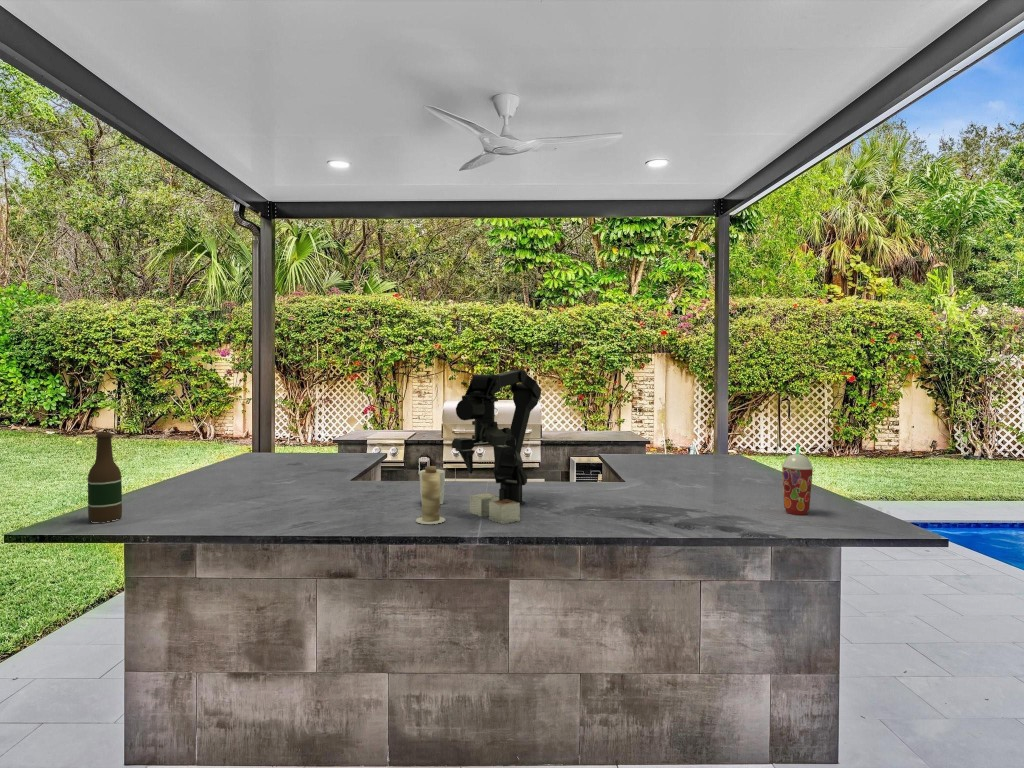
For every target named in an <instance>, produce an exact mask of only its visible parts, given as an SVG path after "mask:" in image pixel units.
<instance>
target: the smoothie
mask: <svg viewBox="0 0 1024 768" xmlns="http://www.w3.org/2000/svg"><path fill="white" fill-rule="evenodd" d="M781 468H782V469H781V470H782V472H781V473H782V491H783V493H782V494H783V507H784V509H785V512H786V513H787V514H790V515H795V516H804V515H807V514H808V513H809V512H808V511H809V510H810V508H811V507H810V506H811V498H812V497H811V495H812V494H811V493H812V484H813V483H812V482H813V472H814V466H813V465H812V463H811V461H810V459H809V458H808V457H807V456H806V455H803V454H800V445H799V444H796V453H793V454H790V455H789V456H788V455H787V457H786V458H785V460H784V461H783V463H782V464H781Z"/></svg>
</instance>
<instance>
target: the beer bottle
mask: <svg viewBox="0 0 1024 768" xmlns="http://www.w3.org/2000/svg"><path fill="white" fill-rule="evenodd" d="M112 437H113V434H112V432H107V431H104V432H98V433H96V435H95V438H96V452H95V461H94V463H93V465H92V467H91V468H90V470H89V472H88V475H87V516H88V517H87V518H88V521H89V520H90V521H92V522H107V521H112V520H116V519H119V518H121V517H122V516H123V495H122V494H123V493H122V492H123V491H122V490H123V489H122V488H123V487H122V473H121V469H120V468H119V466H118V465H117V464H116V462H115V461H114V455H113V444H112ZM121 519H122V518H121Z"/></svg>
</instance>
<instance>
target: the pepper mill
mask: <svg viewBox="0 0 1024 768" xmlns="http://www.w3.org/2000/svg"><path fill="white" fill-rule="evenodd" d="M424 468H425V469H424V470H425V471H424V472H422V503H421V517H422V520H423V521H426V522H434V521H438V520H440V517H441V516H440V515H441V511H440V510H441V507H440V506H441V505H440V472H438V471H436V469H437V466H436V465H427V466H425V467H424Z"/></svg>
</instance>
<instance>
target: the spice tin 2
mask: <svg viewBox="0 0 1024 768" xmlns="http://www.w3.org/2000/svg"><path fill="white" fill-rule="evenodd" d="M520 505H521V504H520V503H518V502H515V501H512V500H508V499H504V500H498V501H491V502H489V516H488V520H489V519H490V520H489V521H491V520H492V521H491V522H494V521H495V523H497V522H498V523H497V524H500V523H501V524H500V525H504V524H503V523H506V524H510V523H509V522H511V523H516V522H515V521H517V522H520V519H521V518H520V517H521V516H520V514H521V513H520V512H521V511H520V509H521V507H520Z"/></svg>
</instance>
